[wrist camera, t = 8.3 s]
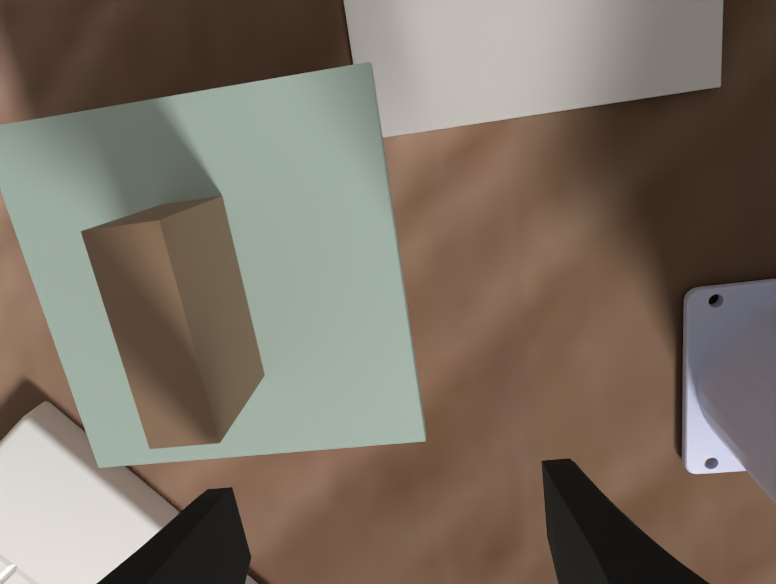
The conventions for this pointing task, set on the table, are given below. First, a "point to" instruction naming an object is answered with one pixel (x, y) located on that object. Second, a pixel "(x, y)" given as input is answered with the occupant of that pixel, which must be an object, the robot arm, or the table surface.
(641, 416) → the table surface
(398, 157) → the table surface
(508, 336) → the table surface
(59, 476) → the laptop
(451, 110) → the mat
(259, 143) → the lid
